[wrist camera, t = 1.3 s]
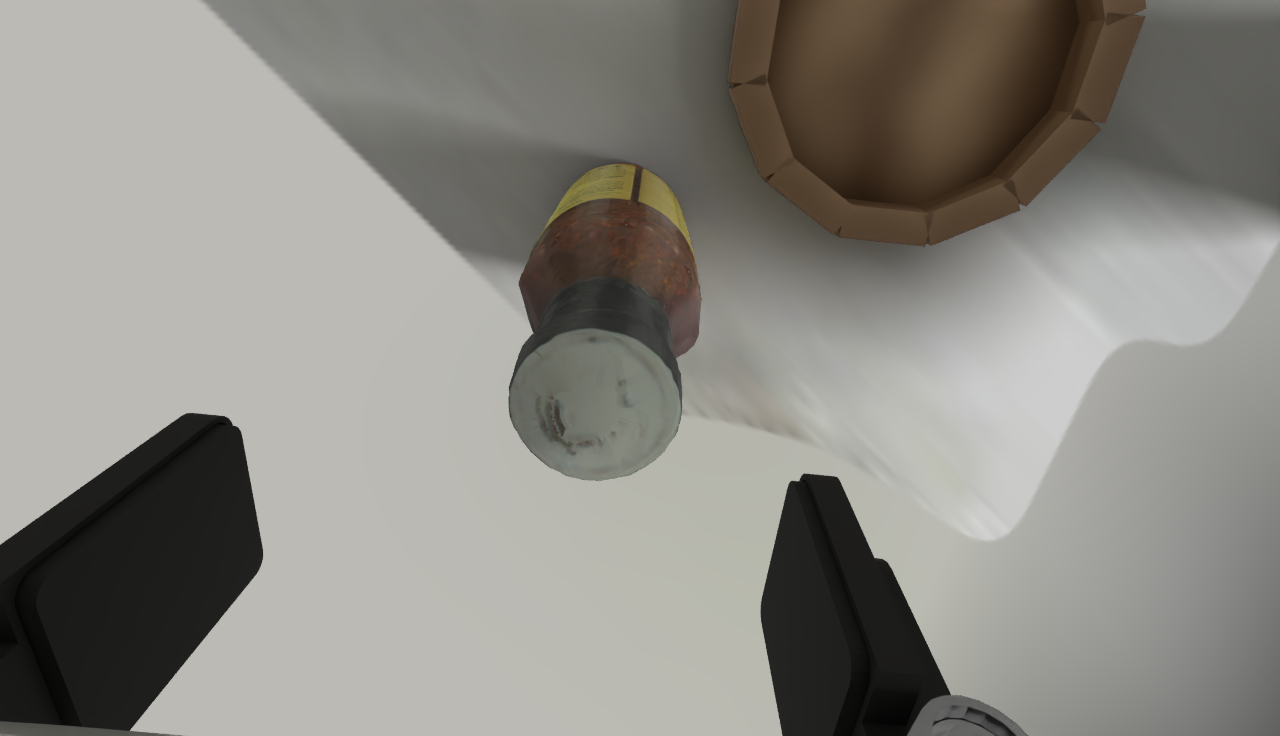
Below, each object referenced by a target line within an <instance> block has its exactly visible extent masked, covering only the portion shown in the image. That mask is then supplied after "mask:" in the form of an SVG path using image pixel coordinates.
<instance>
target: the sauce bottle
mask: <svg viewBox="0 0 1280 736" xmlns="http://www.w3.org/2000/svg"><path fill="white" fill-rule="evenodd" d="M519 287H520V290H521V294H522V297H523V300H524V304H525V308H526V311H527V315H528V319H529V322H530V325H531V328H532V331H533V333H534V334H532V335H531V336H530V337H529V339H528V340H527V341H526V342H525V344H524V345H523V346H522V349H521V351H520V353H519V356H518V360H517V362H516V365H515V369H514V372H513V376H512V379H511V382H510V386H509V412H510V418H511V421H512V423H513V426H514V428H515V429H516V431H517V432H518V434H519V436H520V438H521V440H522V441H523V442H524V444H525V445H526V446H527V447H528V449H529V450H530V451H531V452H532V453H533V454H534V455H535V456H536V457H537V458H539V459H540V460H541V461H542V462H543V463H545V464H546V465H547V466H548V467H550V468H552V469H554V470H557V471H559V472H561V473H562V474H564V475H566V476H569V477H573V478H578V479H582V480H595V481H601V480H607V479H613V478H618V477H623V476H628V475H631V474H633V473H635V472H637V471H638V470H640V469H642V468H644V467H646V466H647V465H649V464H650V463H651V462H653V461H654V460H656V458H658V457H659V456H660V455H661V454H662V453H663V452H664V451H665V450H666V448H667V447H668V445H669V443H670V442H671V441H672V439H673V438H674V437H675V435H676V433H677V431H678V427H679V423H680V420H681V413H682V385H681V373H680V371H679V369H678V364H677V361H676V358H677V357H678V356H680V355H682V354H684V353H686V352H687V351H688V350H689V349H690V348H691V347H692V346H694V344H695V342H696V339H697V337H698V334H699V319H700V306H701V300H702V299H701V294H700V286H699V283H698V271H697V265H696V261H695V256H694V253H693V249H692V245H691V241H690V237H689V233H688V229H687V226H686V223H685V219H684V215H683V212H682V209H681V206H680V204H679V202H678V200H677V198H676V196H675V195H674V193H673V191H672V190H671V189H670V188H669V186H668V185H667V184H666V183H665V182H664V181H663V180H661V179H660V178H659V177H658V176H657V175H655V174H654V173H652V172H650V171H648V170H646V169H644V168H642V167H641V166H639V165H635V164H629V163H618V164H610V165H605V166H601V167H598V168H594V169H592V170H590V171H589V172H587V173H586V174H584V175H583V176H582V177H580V178H579V179H578V180H577V181H576V182H575V183H574V184H573V185H572V186H571V187H570V188H569V189H568V191H567V192H566V194H565V195H564V197H563V198H562V200H561V202H560V203H559V205H558V207H557V208H556V210H555V212H554V213H553V215H552V216H551V218H550V219H549V221H548V223H547V225H546V226H545V228H544V230H543V231H542V233H541V234H540V236H539V237H538V239H537V241H536V243H535V245H534V247H533V249H532V252H531V254H530V258H529V261H528V263H527V264H526V267H525V269H524V271H523V273H522V274H521V277H520V280H519Z"/></svg>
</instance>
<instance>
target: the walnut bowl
mask: <svg viewBox="0 0 1280 736" xmlns="http://www.w3.org/2000/svg"><path fill="white" fill-rule="evenodd" d="M1144 9H1146V3H1145V0H739V4H738V10H737V15H736V20H735V25H734V30H733V37H732V49H731V60H730V67H729V74H728V81H727V82H732V87H730V88H728V90H729V93H730V95H731V98H732V101H733V103H734V106H735V109H736V112H737V115H738V118H739V122H740V125H741V128H742V131H743V134H744V136H745V138H746V140H747V143H748V145H749V147H750V150H751V153H752V156H753V158H754V161H755V164H756V166H757V169H758V172H759V173H760V174H761V175H762V178H763V179H764V180H765V181H766V182H767V183H768V184H769V185H771V186H772V187H773V188H774V189H776V190H777V191H778V192H780V193H781V194H782V195H783V196H785V197H786V198H787V199H788V200H790V201H791V202H792V203H794V204H795V205H796V206H797V207H799V208H800V209H801V210H802V211H804V212H805V213H806V214H808V215H809V216H810V217H811V218H813V219H814V220H815V221H817V222H818V223H819V224H820V225H822V226H823V227H824V228H825V229H827V230H828V231H829V232H831V233H832V234H833V235H834V234H836V235H837V236H838V237H842V238H851V239H861V240H870V241H879V242H888V243H898V244H907V245H916V246H925V244H926V243H928V244H929V245H934V244H936V243H939V242H941V241H944V240H946V239H949V238H951V237H954V236H956V235H959V234H961V233H964V232H966V231H969V230H971V229H974V228H977V227H979V226H982V225H984V224H987V223H989V222H992V221H994V220H997V219H999V218H1002V217H1004V216H1007V215H1009V214H1012V213H1014V212H1017V211H1019V210H1020V207H1019V204H1021V205H1024V206H1027V205H1028V204H1029V203H1030V202H1031V201H1032V200H1033V199H1034V198H1035V197H1036V196H1037V194H1038V193H1039V192H1040V191H1041V190H1042V189H1043V188H1044V187H1045V186H1046V185H1047V184H1048V183H1049V182H1050V181H1051V180H1052V179H1053V178H1054V177H1055V176H1056V175H1057V174H1058V173H1059V172H1060V171H1061V170H1062V169H1063V168H1064V167H1065V166H1066V165H1067V164H1068V163H1069V162H1070V161H1071V160H1072V159H1073V158H1074V156H1075V155H1076V154H1077V153H1078V152H1079V151H1080V150H1081V149H1082V148H1083V147H1084V146H1085V145H1086V144H1087V143H1088V142H1089V141H1090V140H1091V139H1092V138H1093V137H1094V136H1095V135H1096V134H1097V133H1098V132H1099V131H1100V130H1101V129H1100V128H1099V127H1098V126H1097V125H1096V124H1095V123H1094V122H1102V123H1105V122H1106V119H1107V116H1108V114H1109V111H1110V108H1111V106H1112V103H1113V100H1114V98H1115V95H1116V92H1117V90H1118V87H1119V85H1120V82H1121V79H1122V77H1123V74H1124V71H1125V69H1126V66H1127V63H1128V61H1129V58H1130V55H1131V53H1132V50H1133V47H1134V45H1135V42H1136V39H1137V37H1138V34H1139V31H1140V29H1141V26H1142V23H1143V21H1144V18H1145V16H1138V15H1133V14H1135V13H1137V12H1139V11H1142V10H1144Z"/></svg>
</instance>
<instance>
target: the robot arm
mask: <svg viewBox="0 0 1280 736" xmlns="http://www.w3.org/2000/svg"><path fill="white" fill-rule="evenodd" d="M262 560H263V548H262V542H261V537H260V532H259V527H258V521H257V516H256V510H255V504H254V499H253V493H252V488H251V482H250V477H249V472H248V466H247V461H246V455H245V450H244V444H243V439H242V434H241V431H240V430H239V428H238V427H236V426H233V425H232V422H231V421H230V420H229V418H227V417H225V416H217V415H207V414H197V413H196V414H195V413H187V414H185V415H183V416H181V417H180V418H178V419H177V420H176V421H174V422H172V423H171V424H170V425H168V426H167V427H166V428H164V429H163V430H161V431H160V432H158V433H157V434H156V435H154V436H153V437H151V438H150V439H149V440H147V441H146V442H144V443H143V444H141V445H140V446H139V447H137V448H136V449H134V450H133V451H132V452H130V453H129V454H127V455H126V456H125V457H123V458H122V459H120V460H119V461H118V462H116V463H115V464H113V465H112V466H111V467H109V468H108V469H106V470H105V471H103V472H102V473H101V474H99V475H98V476H96V477H95V478H94V479H92V480H91V481H89V482H88V483H87V484H85V485H84V486H82V487H81V488H80V489H78V490H77V491H75V492H74V493H73V494H71V495H70V496H69V497H67V498H66V499H64V500H63V501H62V502H60V503H59V504H57V505H56V506H54V507H53V508H51V509H50V510H49V511H47V512H46V513H44V514H43V515H42V516H40V517H39V518H37V519H36V520H35V521H33V522H32V523H30V524H29V525H28V526H26V527H25V528H23V529H22V530H20V531H19V532H18V533H17V534H15V535H14V536H12V537H11V538H9V539H8V540H6V541H5V542H4V543H2V544H1V545H0V736H181V735H169V734H158V733H146V732H134V731H130V730H131V728H132V727H133V726H134V725H135V723H136V722H137V721H138V720H139V718H140V717H141V716H142V715H143V713H144V712H145V711H146V710H147V708H148V707H149V706H150V705H151V703H152V702H153V701H154V700H155V699H156V697H157V696H158V695H159V694H160V692H161V691H162V690H163V689H164V687H165V686H166V685H167V684H168V683H169V681H170V680H171V679H172V678H173V676H174V675H175V674H176V673H177V671H178V670H179V669H180V667H182V665H183V664H184V663H185V662H186V660H187V659H188V658H189V656H190V655H191V654H192V653H193V652H194V650H195V649H196V648H197V647H198V646H199V644H200V643H201V642H202V641H203V639H204V638H205V637H206V636H207V634H208V633H209V632H210V631H211V629H212V628H213V627H214V626H215V625H216V623H217V622H218V621H219V619H220V618H221V617H222V616H223V615H224V613H225V612H226V611H227V610H228V608H229V607H230V606H231V605H232V604H233V602H234V601H235V600H236V599H237V597H238V596H239V595H240V594H241V592H242V591H243V590H244V589H245V587H246V586H247V585H248V584H249V583H250V581H251V580H252V579H253V578H254V576H255V575H256V574H257V572H258V570H259V568H260V566H261V563H262ZM761 622H762V628H763V633H764V638H765V643H766V649H767V655H768V660H769V665H770V670H771V676H772V681H773V686H774V692H775V697H776V703H777V708H778V713H779V719H780V724H781V729H782V735H783V736H1028V735H1027V734H1026V733H1025V732H1024V731H1023V730H1022V729H1021V728H1020V726H1018V724H1017V723H1015V722H1014V721H1013V720H1011V719H1010V718H1008V717H1007V716H1006V715H1004V714H1003V713H1002V712H1000V711H999V710H997V709H995V708H993V707H991V706H989V705H987V704H985V703H983V702H981V701H979V700H976V699H971V698H968V697H965V696H961V695H959V696H958V695H951V694H950V692H949V690H948V688H947V685H946V683H945V681H944V679H943V677H942V675H941V673H940V671H939V668H938V666H937V664H936V662H935V660H934V658H933V656H932V654H931V652H930V649H929V647H928V645H927V643H926V641H925V639H924V637H923V635H922V632H921V630H920V628H919V626H918V624H917V622H916V620H915V618H914V616H913V613H912V611H911V609H910V607H909V605H908V603H907V601H906V599H905V596H904V594H903V593H902V590H901V588H900V586H899V584H898V582H897V580H896V577H895V575H894V573H893V571H892V569H891V567H890V566H889V564H888V563H887V562H886V561H885V560H883V559H878V558H874V556H873V554H872V552H871V549H870V547H869V545H868V543H867V541H866V538H865V536H864V534H863V532H862V530H861V527H860V525H859V523H858V520H857V518H856V516H855V514H854V511H853V509H852V507H851V505H850V502H849V500H848V498H847V496H846V494H845V491H844V489H843V487H842V485H841V482H840V481H839V479H838V478H837V477H834V476H824V475H814V474H803V475H802V476H801V478H800V481H791V482H790V483H789V486H788V489H787V493H786V497H785V502H784V506H783V510H782V515H781V519H780V523H779V528H778V531H777V536H776V540H775V544H774V549H773V553H772V557H771V561H770V566H769V570H768V574H767V579H766V583H765V587H764V592H763V596H762V601H761Z"/></svg>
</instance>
